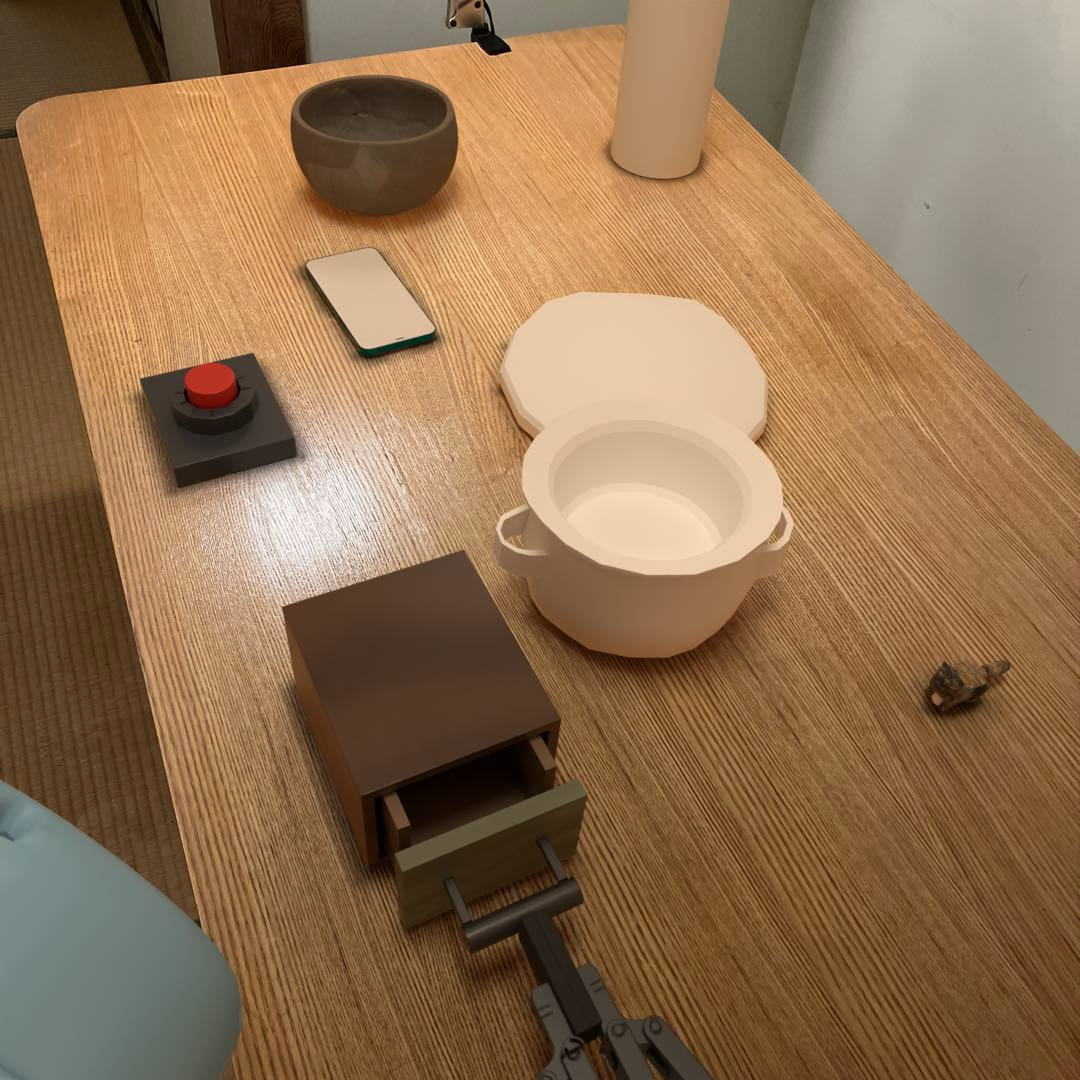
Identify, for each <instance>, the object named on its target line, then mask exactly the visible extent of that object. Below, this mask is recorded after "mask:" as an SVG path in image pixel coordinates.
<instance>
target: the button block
mask: <svg viewBox="0 0 1080 1080" xmlns="http://www.w3.org/2000/svg"><path fill="white" fill-rule="evenodd" d="M209 363H219V364H223V365H226V366H228V367H229V368H230V369H231V370H232V371H233V372H234V375H235V380H236V386H237V397H236V399H235V400H234V401H233V402H232V403H230V404H229V405H227V406H225V407H221V408H217V409H203V408H198V407H196V406H194V405H193V404H192V403H191V402H190V401H189V398H188V394H187V390H186V385H185V377H186V375H187V373H188V372H189V371H190V370H191V369H193V368H194V367H196V366H199V365H202V364H203V363H201V364H197V365H193V366H188V367H184V368H179V369H175V370H171V371H166V372H163V373H158V374H153V375H149V376H144V377H140V378H139V384H140V386H141V390H142V394H143V397H144V398H143V399H144V401H145V403H146V406H147V408H148V411H149V415H150V416H151V420H152V422H153V424H154V427H155V430H156V432H157V435H158V439H159V440H160V443H161V446H162V449H163V451H164V454H165V457H166V459H167V463H168V465H169V468H170V470H171V473H172V476H173V479H174V481H175V485H176V486H177V488H182V487H185V486H186V487H187V486H189V485H193V484H196V483H200V482H205V481H207V480H212V479H215V478H220V477H223V476H226V475H230V474H234V473H238V472H243V471H245V470H250V469H253V468H257V467H260V466H264V465H268V464H272V463H275V462H279V461H283V460H287V459H291V458H294V457H297V456H298V450H297V443H296V437H295V435H294V433H293V431H292V428H291V427H290V424H289V422H288V420H287V419H286V416H285V414H284V412H283V409H282V408H281V406H280V404H279V402H278V399H277V398H276V396H275V394H274V392H273V390H272V388H271V385H270V383H269V380H268V379H267V377H266V374H265V373H264V371H263V369H262V367H261V365H260V363H259V361H258V359H257V356H256V355H255V353H254V352H249V353H245V354H241V355H236V356H233V357H228V358H223V359H218V360H214V361H211V362H209Z"/></svg>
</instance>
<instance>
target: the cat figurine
mask: <svg viewBox="0 0 1080 1080" xmlns="http://www.w3.org/2000/svg"><path fill="white" fill-rule="evenodd" d="M1009 670H1011V663H1010V662H1009V661H1007V660H1005V659H1000V660H995V661H991V662H988V663H984V664H982V665H975V664H973V663H971V662H969V661H967V660H964V661H961V662H958V663H953V664H951V665H949V663H947V661H946V660H943V662H942V664H941V666H940V667H939V668H938V669H937V670H936V672H935V673H933V675H932V677H931V678H930V680H929V682H928V686H927V687H926V688H925V689H924V692H925V693H926V694H927V695H928V696H931V700H932V703H933V704H934V705H936V706H937V707H938V709H939V710H940V711H941V712H945V711H947V710H949V709H950V708H952V707H954V706H957V705H959V704H961V703H967V704H971V703H974V702H976V701H977V700H978V699H979V698H980V697H981V696H983V695H984V694H985V693H987V692H988V690H989V687H988V683H987V681H986V680H987V679H991V678H994V677H998V676H1001V675H1003V674H1005V673H1007V672H1008V671H1009Z"/></svg>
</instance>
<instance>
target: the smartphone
mask: <svg viewBox="0 0 1080 1080" xmlns="http://www.w3.org/2000/svg"><path fill="white" fill-rule="evenodd" d="M304 268H305V269H304V270H305V273H306V275H307V277H308V278H309V280H310V281H311V282H312V284H313V285H314V287H315V289H316V290H317V292H318V293H319V294H320V296H321V298H322V300H324V302H325V304H326V305H327V306H328V308H329V310H330V311H331V312H332V314H333V316H334V317H335V319H336V320H337V321H338V323H339V325H340V326H341V328H342V329H343V330H344V332H345V334H346V335H347V337H348V338H349V340H350V341H351V342H352V344H353V345H354V347H355V349H356V350H357V352H358V353H359V354H361V355H362V356H365V357H372V356H377V355H381V354H385V353H389V352H392V351H396V350H400V349H403V348H406V347H411V346H414V345H418V344H422V343H425V342H429V341H432V340H434V339H435V338H436V336H437V327H436V325H435V323H434V322H433V321H432V319H431V318H430V317H429V315H428V314H427V313H426V312H425V310H424V309H423V308H422V307H421V305H420V304H419V302H418V301H417V300H416V298H415V297H414V296H413V294H412V293H411V291H410V290H409V289H408V288H407V286H406V285H405V284H404V283H403V281H402V280H401V279H400V277H399V276H398V275H397V273H396V272H395V270H394V269H393V268H392V267H391V265H390V264H389V262H388V261H387V260H386V258H384V256H383V255H382V253H381V252H380V251H379V250H378V249H377V248H375V247H372V246H371V247H370V246H369V247H367V246H366V247H362V248H357V249H353V250H347V251H344V252H340V253H335V254H331V255H326V256H321V257H316V258H312V259H309V260H307V261H306V262H305V264H304Z"/></svg>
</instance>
